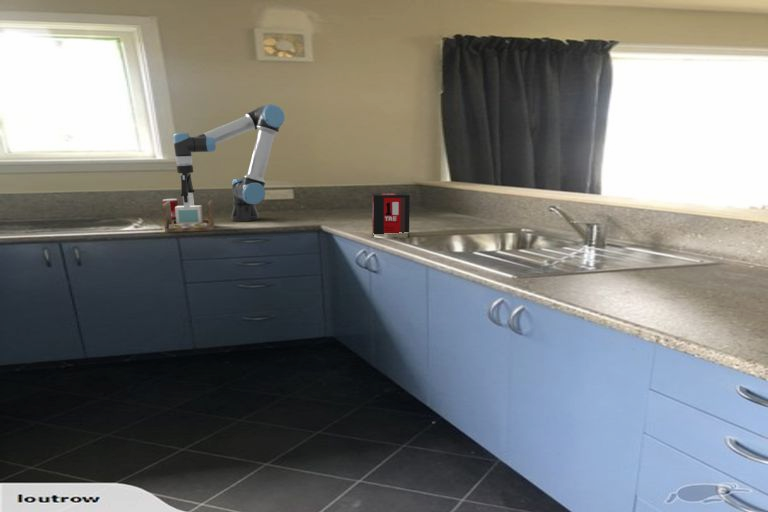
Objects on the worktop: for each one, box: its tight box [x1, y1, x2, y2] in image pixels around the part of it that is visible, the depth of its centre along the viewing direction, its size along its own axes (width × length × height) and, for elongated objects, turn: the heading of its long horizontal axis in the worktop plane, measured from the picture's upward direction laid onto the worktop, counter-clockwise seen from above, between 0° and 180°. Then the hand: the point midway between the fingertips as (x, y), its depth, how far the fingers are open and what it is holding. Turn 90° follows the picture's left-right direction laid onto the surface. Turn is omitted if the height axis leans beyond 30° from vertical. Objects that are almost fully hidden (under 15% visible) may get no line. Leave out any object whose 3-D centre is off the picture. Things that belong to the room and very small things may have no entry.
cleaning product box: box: [371, 192, 411, 234], centre depth 233 cm, size 16×9×20 cm, turn 95°
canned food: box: [162, 198, 179, 220], centre depth 288 cm, size 8×8×11 cm
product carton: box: [175, 204, 204, 224], centre depth 255 cm, size 12×6×10 cm, turn 103°
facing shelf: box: [161, 199, 215, 233], centre depth 255 cm, size 22×14×14 cm, turn 102°
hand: (189, 207), depth 254 cm, fingers open, 13 cm apart
